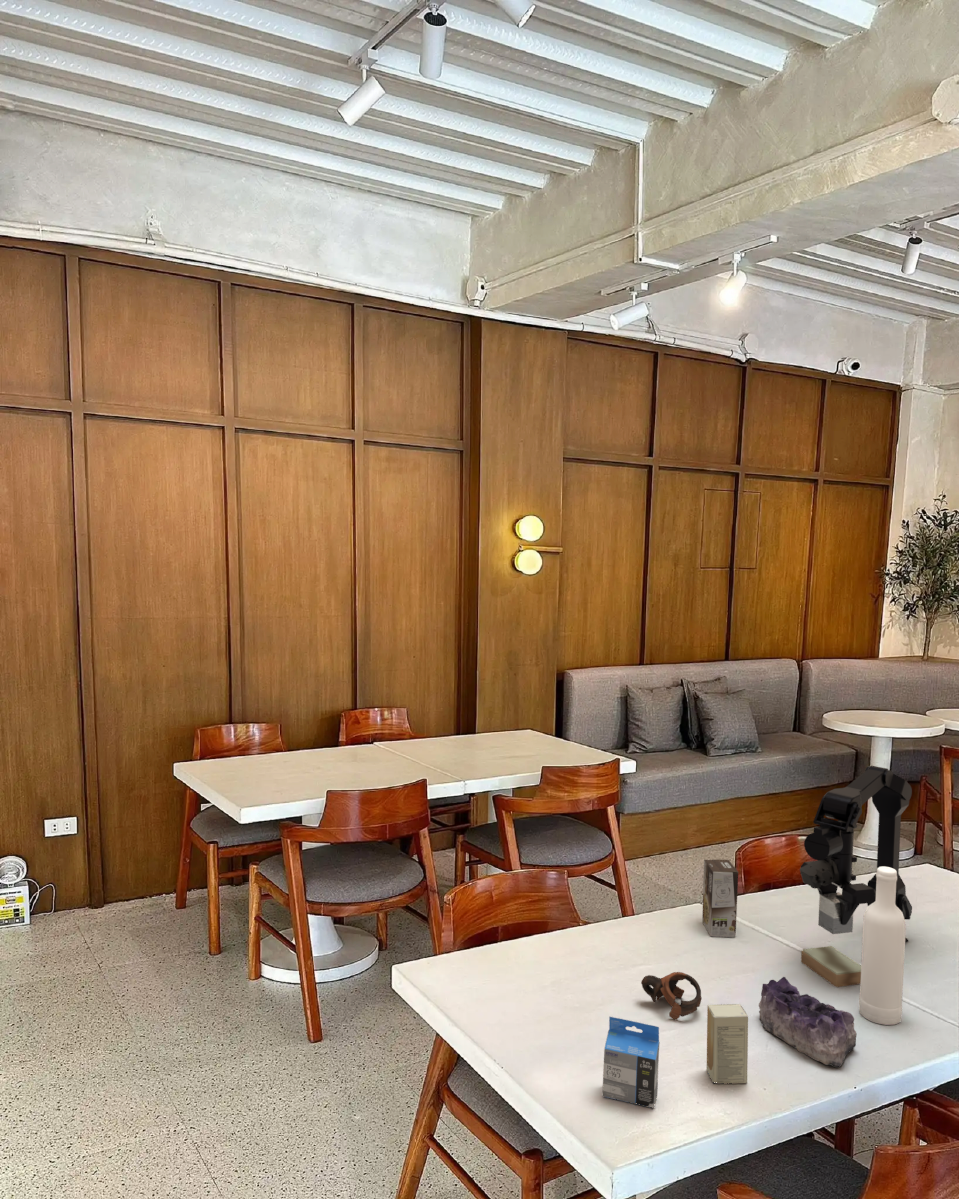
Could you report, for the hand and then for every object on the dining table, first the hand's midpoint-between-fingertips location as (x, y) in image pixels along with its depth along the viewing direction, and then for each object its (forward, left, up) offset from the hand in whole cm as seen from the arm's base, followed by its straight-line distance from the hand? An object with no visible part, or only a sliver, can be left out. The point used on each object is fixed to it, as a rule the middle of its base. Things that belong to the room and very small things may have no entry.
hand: (835, 919), depth 196 cm
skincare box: (+45, +29, -12) cm, 55 cm away
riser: (0, 0, -12) cm, 12 cm away
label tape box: (+64, +30, -12) cm, 72 cm away
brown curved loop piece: (+43, +5, -12) cm, 45 cm away
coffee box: (+13, -26, -12) cm, 31 cm away
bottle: (+3, +18, -12) cm, 22 cm away
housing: (0, 0, -2) cm, 2 cm away
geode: (+24, +22, -12) cm, 35 cm away
